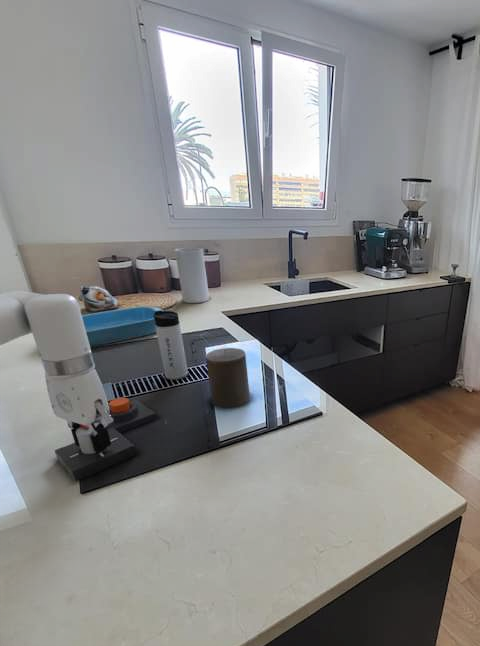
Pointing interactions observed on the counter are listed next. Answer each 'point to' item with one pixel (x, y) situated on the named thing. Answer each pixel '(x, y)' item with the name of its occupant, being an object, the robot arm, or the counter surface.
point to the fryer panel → (94, 456)
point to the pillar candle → (228, 377)
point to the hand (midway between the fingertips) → (93, 444)
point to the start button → (119, 405)
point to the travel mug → (171, 344)
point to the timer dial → (85, 439)
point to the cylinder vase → (192, 275)
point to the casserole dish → (119, 324)
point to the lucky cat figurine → (98, 299)
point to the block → (131, 417)
